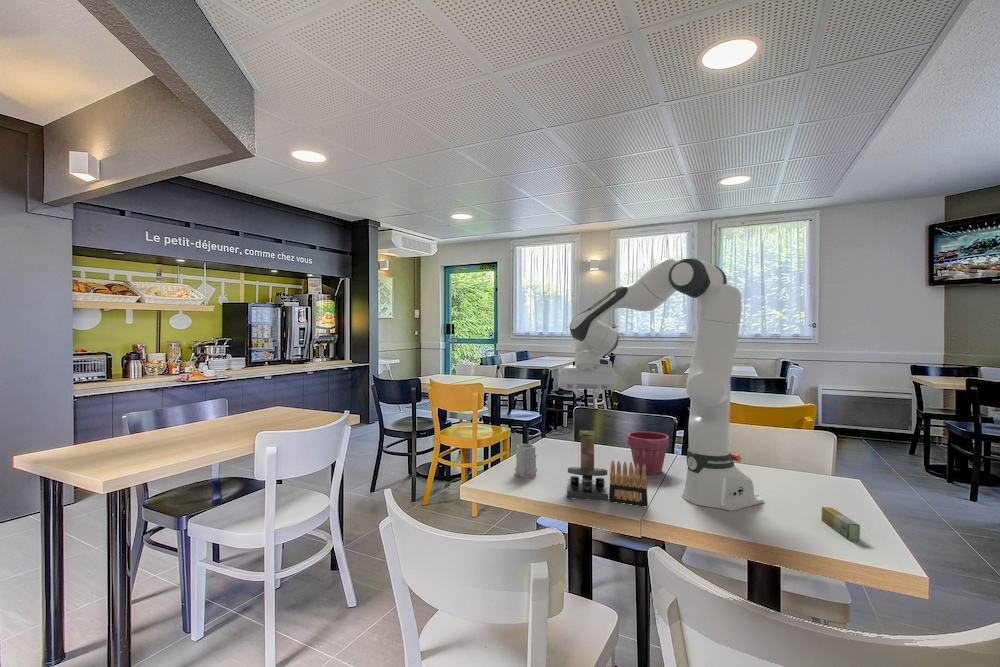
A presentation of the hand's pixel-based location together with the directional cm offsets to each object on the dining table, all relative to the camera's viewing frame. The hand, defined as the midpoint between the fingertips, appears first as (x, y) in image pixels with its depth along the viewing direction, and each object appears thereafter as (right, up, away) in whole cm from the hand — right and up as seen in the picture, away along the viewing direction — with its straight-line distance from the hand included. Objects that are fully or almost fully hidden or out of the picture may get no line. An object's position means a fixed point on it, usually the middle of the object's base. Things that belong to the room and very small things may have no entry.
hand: (587, 397), depth 155 cm
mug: (-21, -27, +1) cm, 35 cm away
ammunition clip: (+7, -28, -24) cm, 37 cm away
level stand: (-3, -27, -15) cm, 31 cm away
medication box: (+55, -28, -41) cm, 75 cm away
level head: (-3, -21, -15) cm, 26 cm away
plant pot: (+23, -28, +8) cm, 37 cm away
